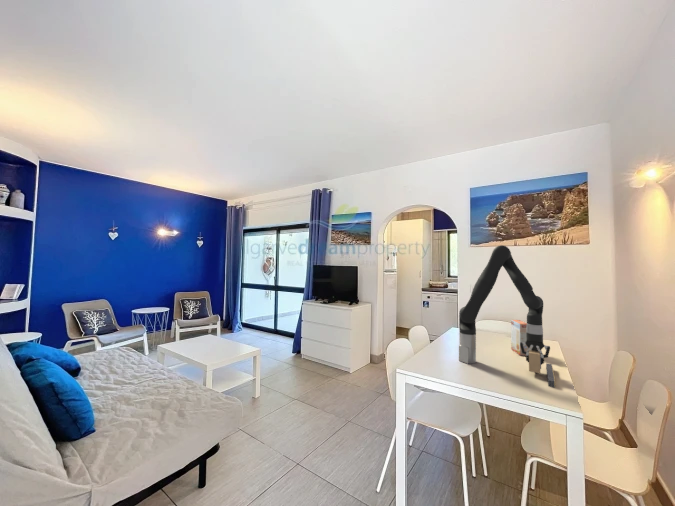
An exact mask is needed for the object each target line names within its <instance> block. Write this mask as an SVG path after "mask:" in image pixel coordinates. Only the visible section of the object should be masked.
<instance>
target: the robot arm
mask: <svg viewBox="0 0 675 506" xmlns="http://www.w3.org/2000/svg"><path fill="white" fill-rule="evenodd" d="M502 267H503V268H504V270H505V272H506V274H508V276H509V278H510V279H511V282H512V283H513V285H514V286H515V289H517V290H518V293H519V294H520V296H521V299H522V301H523V303H524V304H525V306H526V307H527V308H528V311H527V314H526V323H527V326H526V342H520V346H521V350H522V353H523V354H525V355H526V356H525V361H526V362H527V363H529V351H537V352H539V353H540V356H541V366H543V365H544V363H545V358H546V359H547V358H548V357H549V355H550V350H551V346H550V345H546V344H544V328H543V312H544V301H543V299H542V297H541V296H539V295H537V294H535V292H534V290H533V289H534V288H533V286H532V285H531V283H530V281H529V280H528V279H527V277H526V276H525V275H524V273H523V272H522V271H521V270H520V268H519V267H518V266H517V264H516V262H515V260H514V258H513V256H512V252H511V250H510V248H509V247H508V246H506V245H502V244H501V245H498V246H496V247H495V248H493V250H492V252H491V254H490V258H489V260H488V263H487V264H486V265H485V267H484V269H483V270H482V272H481V274H480V275H479V277H478V278H477V280H476V282H475V284H474V285H473V288H472V291H471V295H470V297H469V300H468V302H467V303H466V304H465V306H463V307H461V308H460V309H459V315H458V318H459V319H458V320H459V323H458V324H459V325H458V326H459V345H458V361H459V362H462V363H463V364H464V363H465V364H476V362H477V352H476V351H477V329H476V328H477V327H476V319H477V316H478V315H479V313H480V310H481V307H482V305H483V304H484V302H485V301H486V300H487V298H488V297H489V294H491V292H492V289H494V288H493V287H494V286H495V284H496V283H497V280H498V276H499V273H500V270H501V269H502ZM525 344H526V345H527V347H528V350H527V352H526V351H525V350H524V346H525ZM543 349H545V354H544V353H543V351H542V350H543Z"/></svg>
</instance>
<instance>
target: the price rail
mask: <svg viewBox="0 0 675 506" xmlns="http://www.w3.org/2000/svg"><path fill="white" fill-rule="evenodd" d="M545 368H546V369H545V370H546V376H547V377H546V378H547V379H546V380H547V386H548V387H549V388H555V387H556V378H555V373H554V367H553V365H552V364H551V363H546V364H545Z"/></svg>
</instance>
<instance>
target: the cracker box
mask: <svg viewBox="0 0 675 506" xmlns="http://www.w3.org/2000/svg"><path fill="white" fill-rule="evenodd" d="M510 321H511V322H510V324H511V327H510V328H511V329H510V337H511V338H510V349H511V350H512V351H514V352H515V353H516V354H518V355H519V356H523V355H524V356H525V357H526V355H525V354H523V353H522V350H521V346H520V342H526V326H527V322H525V321H522V320H520V319H511V320H510ZM524 350H525V351H526V352H527V350H528V347H527V345H526V344H525V346H524Z"/></svg>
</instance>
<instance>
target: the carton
mask: <svg viewBox="0 0 675 506" xmlns="http://www.w3.org/2000/svg"><path fill="white" fill-rule="evenodd" d="M541 369H542V365H541V356H540V353H539V352H537V351H529V362H528V372H531V373H537V374H541Z"/></svg>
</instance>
